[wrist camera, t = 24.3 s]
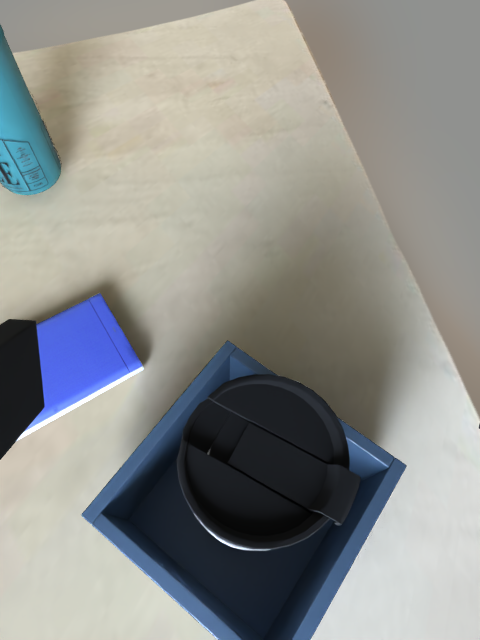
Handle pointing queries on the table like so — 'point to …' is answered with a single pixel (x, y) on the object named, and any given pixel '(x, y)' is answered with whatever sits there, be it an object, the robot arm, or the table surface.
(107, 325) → the hard drive
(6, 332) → the robot arm
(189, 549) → the blue open box
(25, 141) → the beverage bottle
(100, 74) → the table surface
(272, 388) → the travel mug
